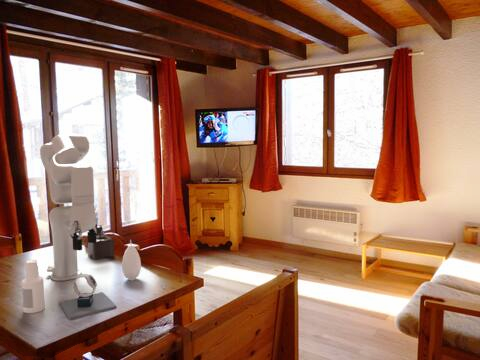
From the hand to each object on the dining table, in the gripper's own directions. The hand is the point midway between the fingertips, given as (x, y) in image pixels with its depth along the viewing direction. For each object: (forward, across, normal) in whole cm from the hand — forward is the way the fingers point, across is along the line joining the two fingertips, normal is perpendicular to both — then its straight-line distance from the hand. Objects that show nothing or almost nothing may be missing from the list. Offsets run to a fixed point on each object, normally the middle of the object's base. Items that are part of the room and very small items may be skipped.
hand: (85, 246), depth 143 cm
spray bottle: (+23, +7, -17) cm, 29 cm away
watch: (+22, +1, 0) cm, 22 cm away
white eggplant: (+23, -27, +5) cm, 36 cm away
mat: (+22, +1, 0) cm, 22 cm away
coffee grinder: (+23, -56, -24) cm, 65 cm away
